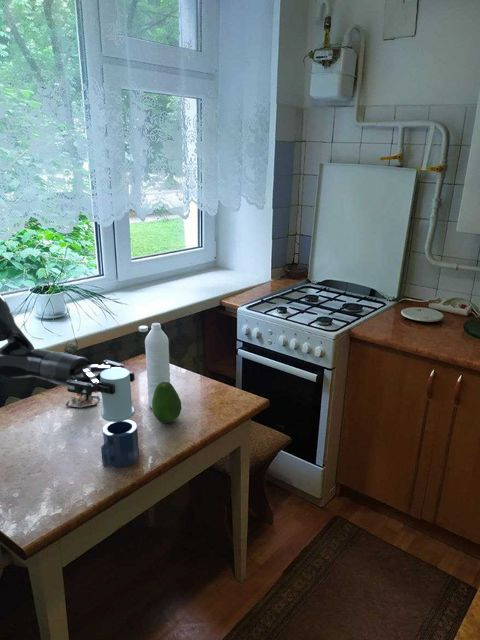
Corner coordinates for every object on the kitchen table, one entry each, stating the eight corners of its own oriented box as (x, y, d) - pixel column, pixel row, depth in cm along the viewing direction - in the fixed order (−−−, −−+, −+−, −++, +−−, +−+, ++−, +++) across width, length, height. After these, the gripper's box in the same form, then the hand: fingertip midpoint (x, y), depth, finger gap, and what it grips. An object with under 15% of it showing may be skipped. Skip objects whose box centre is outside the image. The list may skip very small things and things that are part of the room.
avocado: (147, 421, 136) (145, 381, 132) (171, 411, 141) (169, 373, 137) (164, 432, 131) (162, 391, 126) (188, 422, 136) (187, 383, 132)
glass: (133, 420, 113) (130, 379, 109) (99, 423, 111) (95, 381, 107) (135, 405, 119) (132, 365, 115) (103, 407, 118) (99, 367, 114)
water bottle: (161, 396, 150) (157, 318, 140) (175, 403, 146) (172, 323, 137) (137, 406, 143) (132, 325, 134) (151, 414, 140) (147, 331, 130)
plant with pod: (98, 411, 140) (91, 346, 133) (61, 407, 142) (53, 342, 134) (111, 399, 147) (106, 336, 140) (76, 394, 149) (69, 332, 142)
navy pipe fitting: (117, 446, 124) (115, 416, 121) (145, 453, 122) (143, 422, 119) (90, 470, 114) (86, 438, 111) (119, 478, 112) (116, 446, 109)
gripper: (40, 366, 109) (101, 380, 104) (84, 344, 122) (142, 356, 116) (44, 396, 112) (104, 412, 106) (87, 372, 124) (143, 385, 119)
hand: (124, 383), depth 111 cm, fingers closed on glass, 6 cm apart
